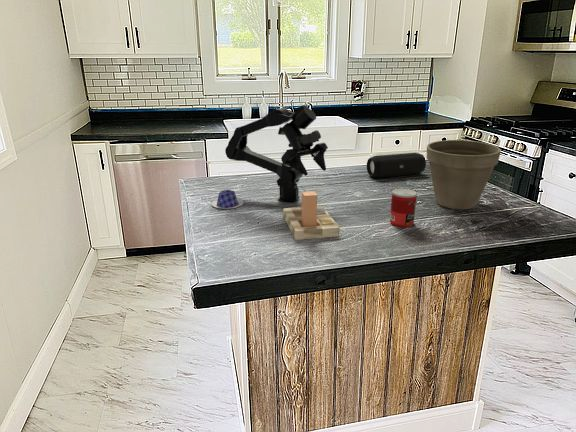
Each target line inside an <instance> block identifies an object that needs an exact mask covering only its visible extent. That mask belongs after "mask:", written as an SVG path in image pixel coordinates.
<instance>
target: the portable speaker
mask: <svg viewBox="0 0 576 432" xmlns="http://www.w3.org/2000/svg"><path fill="white" fill-rule="evenodd" d="M426 160H427V159H426V157H425V156H424V154H423V153H419V152H405V153H404V152H403V153H392V154H379V155H378V154H377V155H373V156H371V157H369V158H368V159H367V162H366V170H367V171H366V172H367V174H368V176H370V177H372V178H376V179H379V178H389V177H392V178H393V177H400V176H401V177H403V176H404V177H405V176H411V175H413V176H414V175H419V174H420V173H422V172H424V171H425V169H426V166H427V161H426Z"/></svg>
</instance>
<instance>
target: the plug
mask: <svg viewBox="0 0 576 432" xmlns="http://www.w3.org/2000/svg"><path fill="white" fill-rule="evenodd" d="M317 206H318V194H317V193H316V192H315V191H314V190H310V191H307V190H306V191H301V207H302V227H312V226H317Z"/></svg>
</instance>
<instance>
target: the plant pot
mask: <svg viewBox="0 0 576 432" xmlns="http://www.w3.org/2000/svg"><path fill="white" fill-rule="evenodd" d="M501 153H502V150H501V148H500V147H498V145H497V146H496V145H494V144H492V143H488V142H484V141H483V142H482V141H475V140H464V139H447V140H436V141H432V142H430V143H428V144H427V145H426V160H427V161H428V163H429V170H430V177H431V182H432V188H433V193H434V198H435V202H436V204H438V205H439V206H441V207H445V208H446V209H447V208H448V209H451V210H453V209H454V210H470V209H474V208H476V207H477V205H478V203H479V202H480V199H481V197H482V195H483V193H484V191H485V189H486V186H487V183H488V181H489V179H490V178H491V174H492V172H493V170H494V167H495V166H497V165H498V163H499V161H500V155H501Z"/></svg>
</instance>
